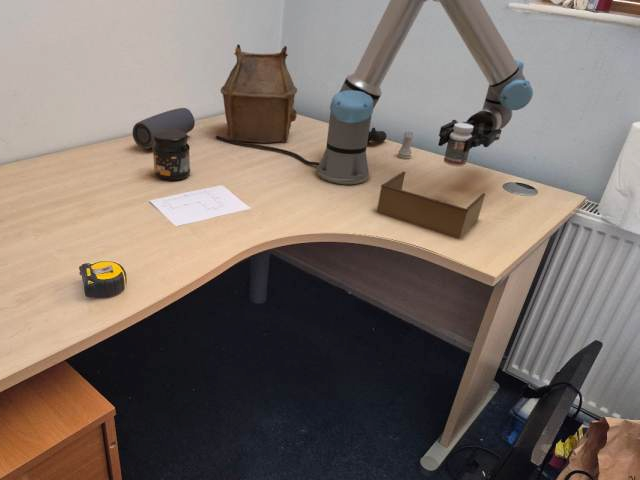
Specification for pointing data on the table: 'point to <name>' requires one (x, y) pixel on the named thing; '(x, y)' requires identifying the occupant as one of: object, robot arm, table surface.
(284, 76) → the hut
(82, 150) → the table surface
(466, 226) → the brown u-shaped partition wall
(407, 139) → the rook chess piece
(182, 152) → the supplement container
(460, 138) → the pill bottle
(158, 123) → the bluetooth speaker
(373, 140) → the gaming controller
